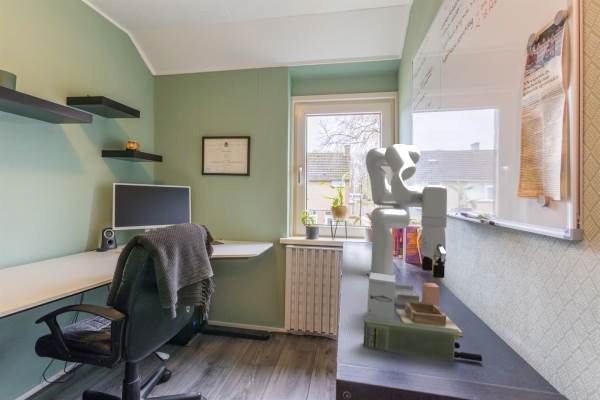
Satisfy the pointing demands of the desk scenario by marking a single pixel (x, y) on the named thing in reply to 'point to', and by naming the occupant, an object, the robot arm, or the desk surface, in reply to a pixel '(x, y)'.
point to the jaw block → (430, 293)
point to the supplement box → (381, 296)
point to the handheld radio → (414, 339)
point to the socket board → (425, 315)
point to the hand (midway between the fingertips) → (432, 273)
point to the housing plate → (405, 294)
